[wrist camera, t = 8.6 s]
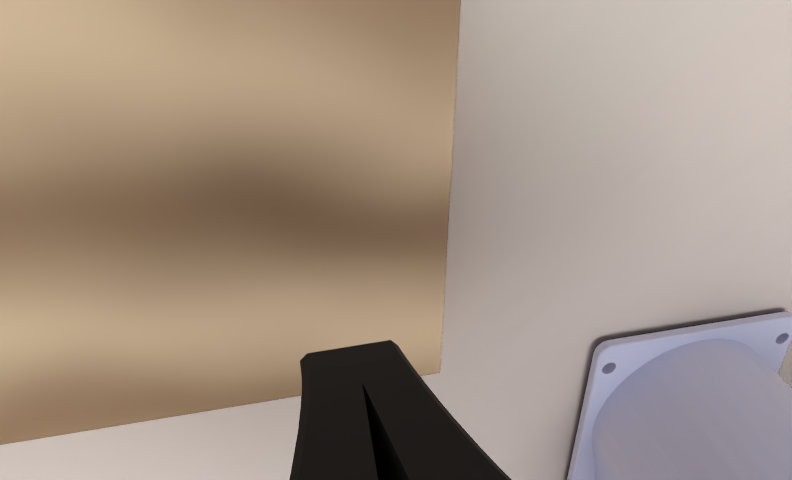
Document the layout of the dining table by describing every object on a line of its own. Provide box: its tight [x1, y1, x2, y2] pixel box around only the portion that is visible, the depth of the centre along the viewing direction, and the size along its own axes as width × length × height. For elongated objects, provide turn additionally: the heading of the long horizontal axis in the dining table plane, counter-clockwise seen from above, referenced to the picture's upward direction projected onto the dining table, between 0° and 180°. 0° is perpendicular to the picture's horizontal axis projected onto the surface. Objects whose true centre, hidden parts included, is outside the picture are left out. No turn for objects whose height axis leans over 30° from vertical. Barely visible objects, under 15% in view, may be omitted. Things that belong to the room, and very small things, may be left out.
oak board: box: [0, 0, 461, 445], centre depth 18 cm, size 12×15×2 cm
